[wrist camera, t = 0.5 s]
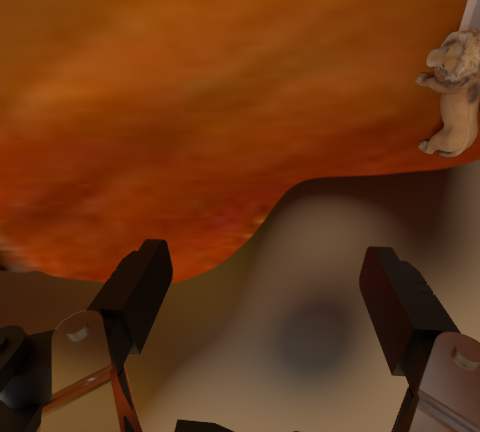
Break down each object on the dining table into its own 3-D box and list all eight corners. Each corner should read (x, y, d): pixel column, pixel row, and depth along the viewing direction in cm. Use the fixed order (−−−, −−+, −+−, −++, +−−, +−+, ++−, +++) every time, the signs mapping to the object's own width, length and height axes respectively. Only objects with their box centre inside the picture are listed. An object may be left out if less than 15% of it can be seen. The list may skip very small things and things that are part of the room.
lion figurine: (395, 49, 30) (438, 47, 22) (449, 20, 28) (517, 8, 20) (420, 163, 36) (461, 193, 28) (466, 145, 34) (522, 172, 26)
